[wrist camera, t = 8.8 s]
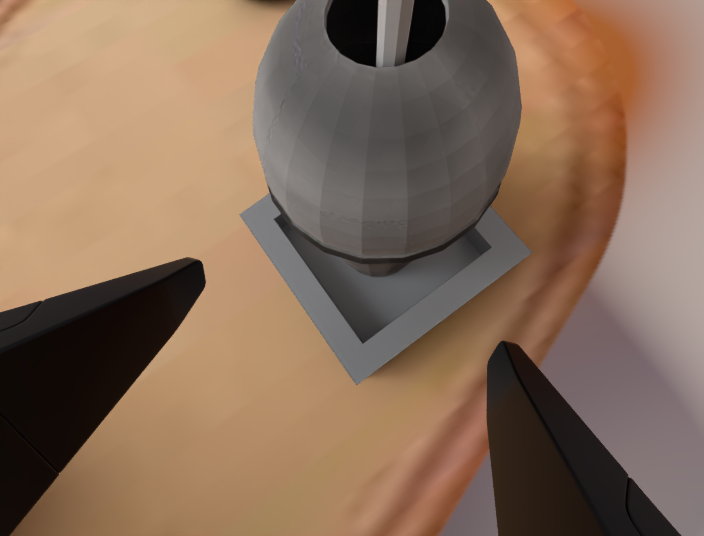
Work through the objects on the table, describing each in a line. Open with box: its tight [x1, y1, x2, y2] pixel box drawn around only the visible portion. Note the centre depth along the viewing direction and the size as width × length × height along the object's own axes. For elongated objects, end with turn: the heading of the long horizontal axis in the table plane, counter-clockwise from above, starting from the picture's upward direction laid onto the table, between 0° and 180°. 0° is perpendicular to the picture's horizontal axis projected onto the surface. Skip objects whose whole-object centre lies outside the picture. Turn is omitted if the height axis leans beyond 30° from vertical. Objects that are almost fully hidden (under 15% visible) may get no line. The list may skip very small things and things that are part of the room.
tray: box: [239, 193, 532, 385], centre depth 20 cm, size 13×13×2 cm
